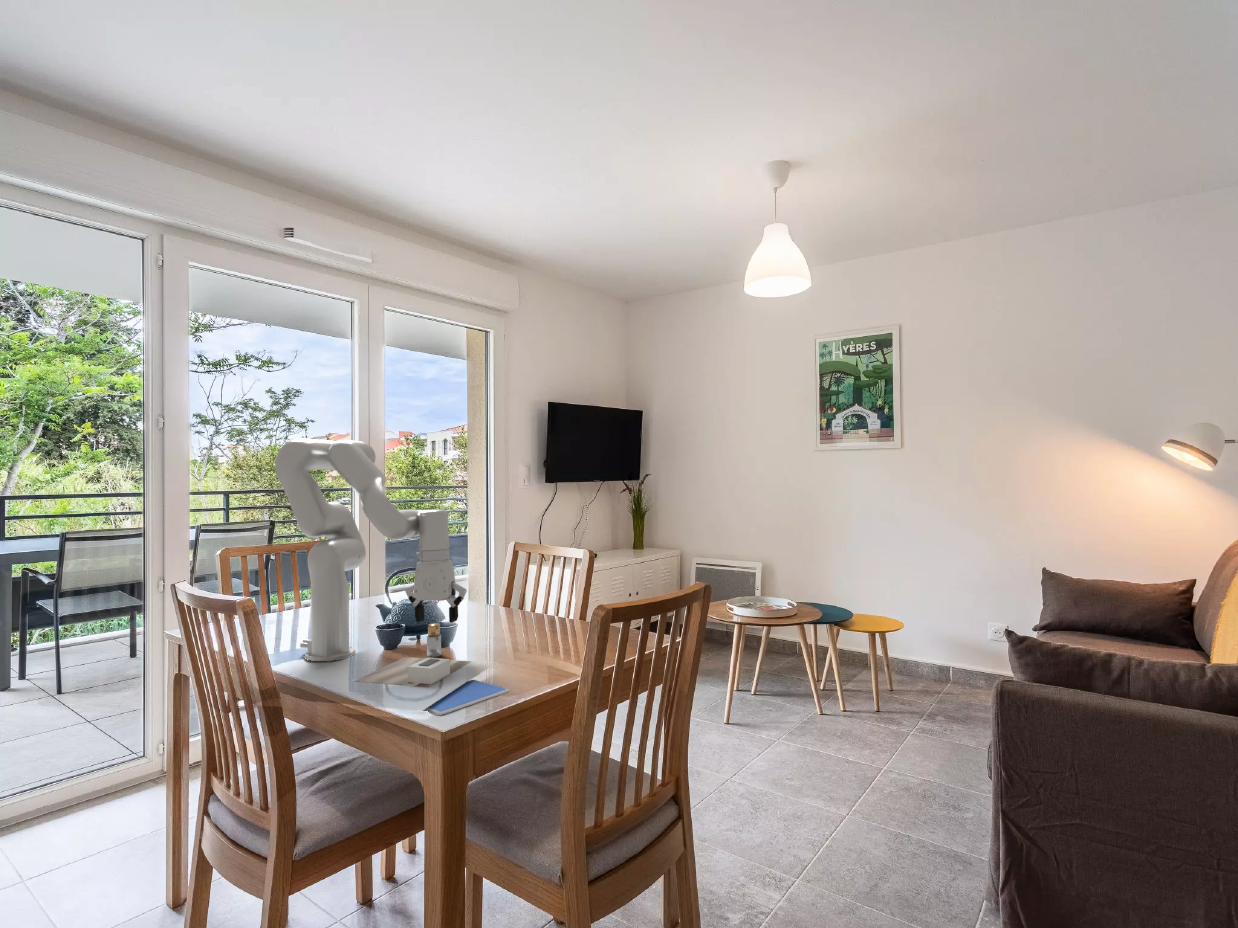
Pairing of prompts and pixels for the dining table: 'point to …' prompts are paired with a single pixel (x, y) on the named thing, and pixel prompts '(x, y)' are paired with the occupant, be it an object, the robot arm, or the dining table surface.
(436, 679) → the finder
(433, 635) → the glass spice jar
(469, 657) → the dining table surface
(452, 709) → the tablet computer
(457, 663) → the beige flat panel
